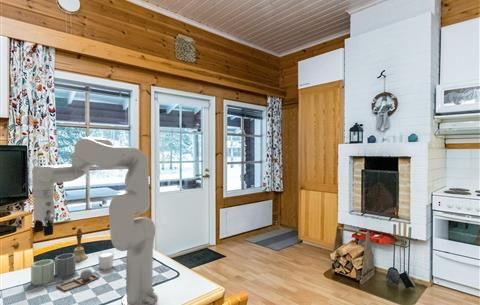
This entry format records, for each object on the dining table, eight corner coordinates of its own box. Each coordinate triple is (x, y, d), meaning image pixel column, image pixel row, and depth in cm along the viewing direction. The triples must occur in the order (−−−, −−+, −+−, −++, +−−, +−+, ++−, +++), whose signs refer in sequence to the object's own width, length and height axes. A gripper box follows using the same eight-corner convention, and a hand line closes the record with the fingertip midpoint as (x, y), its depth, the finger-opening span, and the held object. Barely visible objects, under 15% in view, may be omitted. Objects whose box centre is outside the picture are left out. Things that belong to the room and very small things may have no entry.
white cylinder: (107, 272, 130) (107, 257, 130) (94, 271, 132) (95, 256, 132) (116, 266, 137) (116, 252, 137) (104, 265, 139) (104, 251, 138)
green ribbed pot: (56, 281, 121) (56, 261, 121) (36, 288, 115) (36, 267, 115) (48, 277, 125) (48, 258, 125) (28, 283, 119) (28, 263, 119)
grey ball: (93, 279, 121) (93, 269, 121) (83, 283, 118) (83, 272, 118) (88, 276, 124) (88, 266, 124) (78, 280, 120) (78, 270, 120)
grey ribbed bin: (77, 274, 128) (78, 255, 128) (60, 280, 122) (60, 260, 122) (69, 270, 133) (69, 252, 133) (52, 275, 126) (52, 257, 126)
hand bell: (70, 257, 149) (71, 227, 149) (88, 254, 152) (88, 226, 152) (68, 262, 141) (68, 231, 141) (87, 260, 145) (87, 230, 145)
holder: (98, 280, 122) (98, 276, 122) (64, 294, 110) (64, 289, 110) (90, 276, 126) (90, 272, 126) (56, 289, 114) (56, 285, 114)
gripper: (62, 194, 118) (62, 234, 118) (44, 191, 128) (44, 228, 128) (42, 196, 112) (42, 238, 112) (24, 193, 121) (25, 232, 121)
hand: (43, 233), depth 120 cm, fingers open, 9 cm apart
